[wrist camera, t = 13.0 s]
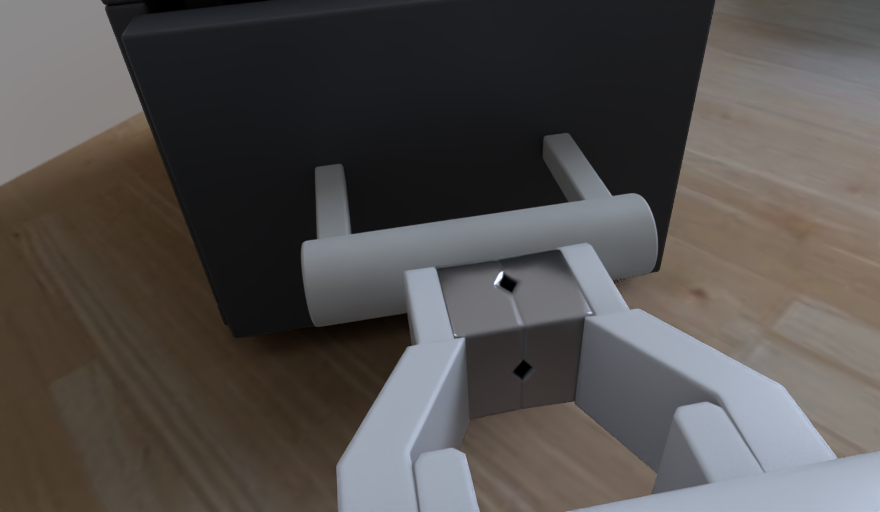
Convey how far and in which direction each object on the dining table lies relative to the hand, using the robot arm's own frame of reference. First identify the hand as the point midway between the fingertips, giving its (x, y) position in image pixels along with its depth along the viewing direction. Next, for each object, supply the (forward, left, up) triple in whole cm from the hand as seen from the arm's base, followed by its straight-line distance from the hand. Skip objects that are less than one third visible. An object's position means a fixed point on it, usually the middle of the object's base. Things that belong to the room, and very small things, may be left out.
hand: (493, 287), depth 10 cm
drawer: (0, +9, -5) cm, 10 cm away
